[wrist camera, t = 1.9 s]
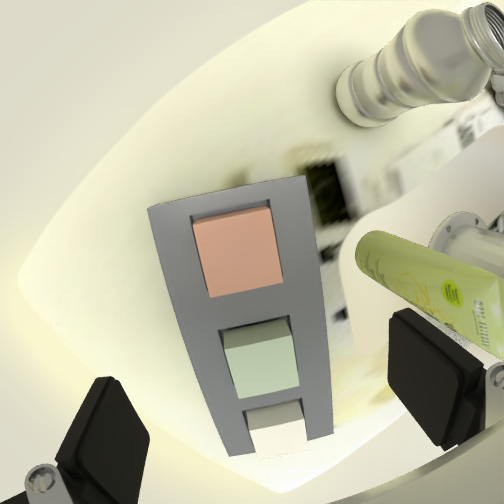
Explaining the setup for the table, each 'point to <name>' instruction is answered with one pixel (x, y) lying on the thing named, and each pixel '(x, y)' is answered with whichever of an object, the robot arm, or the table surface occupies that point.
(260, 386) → the sage button
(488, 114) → the table surface
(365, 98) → the plastic bottle
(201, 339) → the panel
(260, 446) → the offwhite button
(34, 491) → the robot arm
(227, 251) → the terracotta button
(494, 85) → the chubby cartoon animal
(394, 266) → the tube
